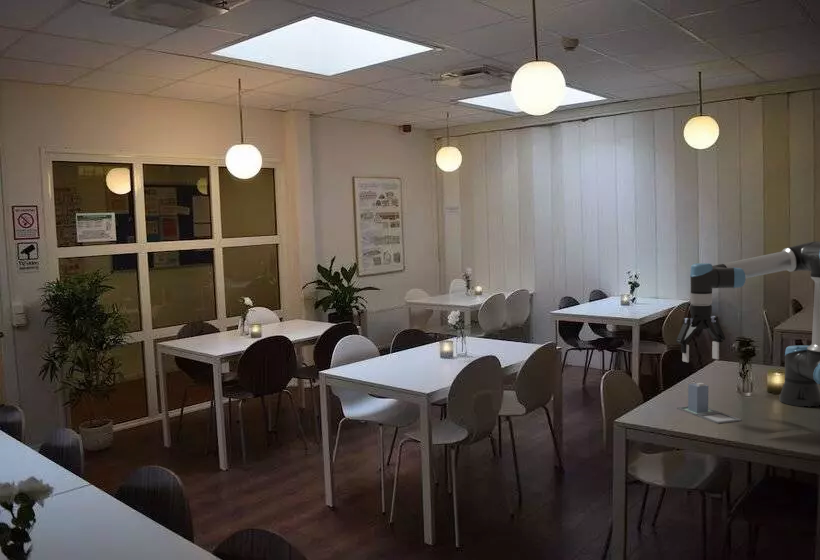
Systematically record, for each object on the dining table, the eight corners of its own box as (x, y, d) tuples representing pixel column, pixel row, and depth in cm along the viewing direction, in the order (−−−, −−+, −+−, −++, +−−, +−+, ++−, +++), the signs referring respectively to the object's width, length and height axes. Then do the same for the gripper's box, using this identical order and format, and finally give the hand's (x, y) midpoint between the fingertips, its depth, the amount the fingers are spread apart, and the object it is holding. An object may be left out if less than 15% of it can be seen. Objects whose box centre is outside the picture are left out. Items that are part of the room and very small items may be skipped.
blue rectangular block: (698, 408, 264) (699, 380, 263) (708, 411, 259) (708, 383, 258) (688, 409, 263) (688, 381, 262) (697, 413, 258) (697, 384, 257)
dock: (704, 408, 269) (704, 403, 269) (748, 423, 247) (748, 418, 247) (670, 412, 264) (670, 407, 264) (711, 428, 243) (711, 423, 243)
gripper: (721, 301, 265) (720, 355, 267) (666, 305, 258) (666, 361, 259) (735, 303, 258) (735, 359, 259) (679, 307, 251) (679, 364, 252)
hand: (700, 360), depth 259 cm, fingers open, 13 cm apart
